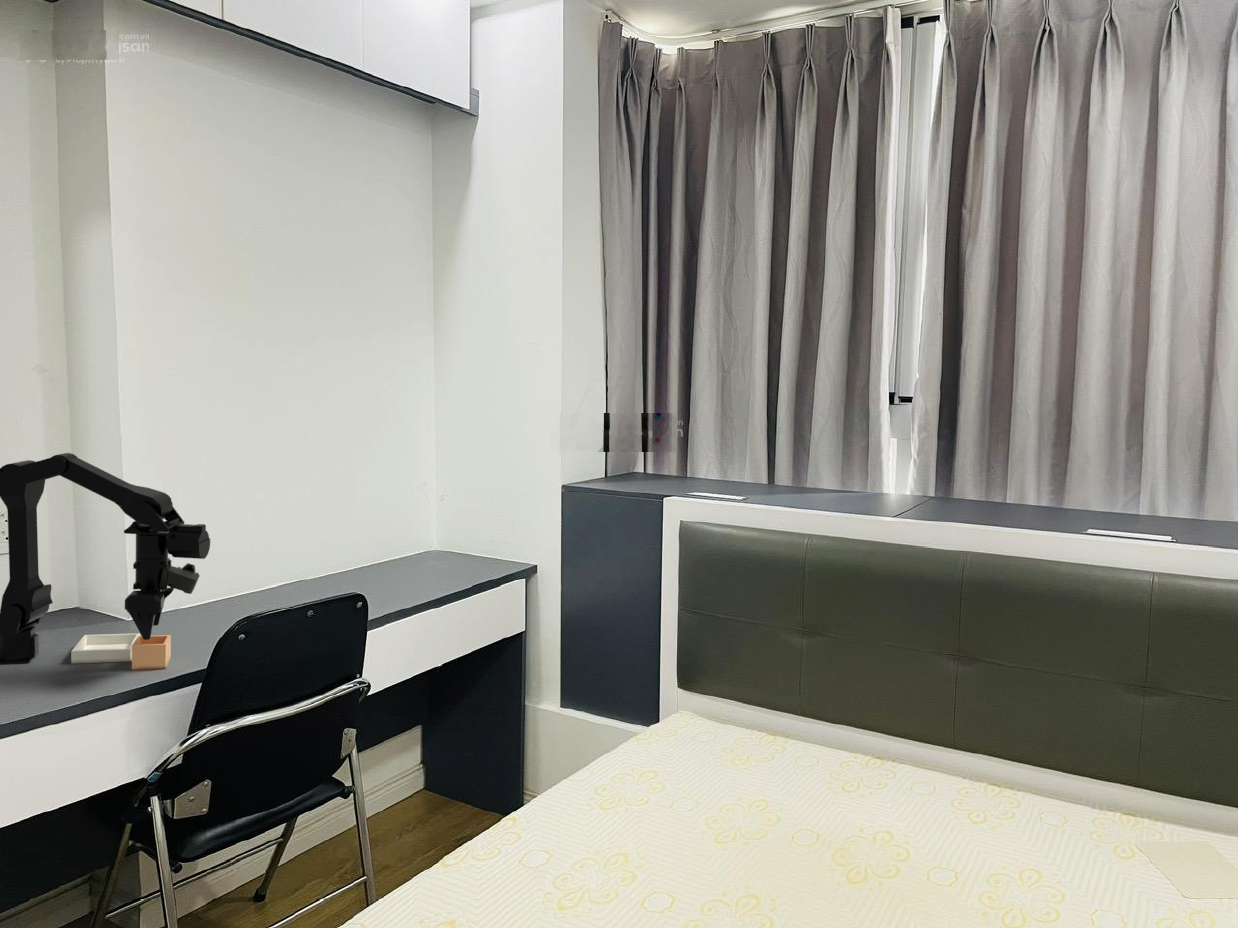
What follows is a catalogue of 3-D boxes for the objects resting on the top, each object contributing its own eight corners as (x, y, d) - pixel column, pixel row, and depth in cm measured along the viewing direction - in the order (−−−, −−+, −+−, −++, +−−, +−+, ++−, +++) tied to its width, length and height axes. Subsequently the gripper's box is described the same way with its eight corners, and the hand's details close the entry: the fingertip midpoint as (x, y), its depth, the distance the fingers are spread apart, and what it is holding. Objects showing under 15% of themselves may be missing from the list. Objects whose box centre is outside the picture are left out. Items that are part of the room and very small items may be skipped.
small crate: (131, 670, 177) (131, 645, 176) (137, 659, 182) (138, 636, 182) (165, 668, 179) (165, 644, 178) (170, 658, 184) (170, 635, 184)
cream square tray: (71, 663, 178) (71, 651, 178) (84, 646, 188) (84, 634, 188) (130, 661, 181) (130, 649, 181) (140, 644, 191) (140, 633, 191)
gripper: (189, 567, 172) (188, 645, 173) (202, 545, 189) (201, 617, 191) (124, 567, 168) (123, 647, 170) (143, 545, 186) (143, 618, 188)
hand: (151, 632), depth 180 cm, fingers open, 9 cm apart
